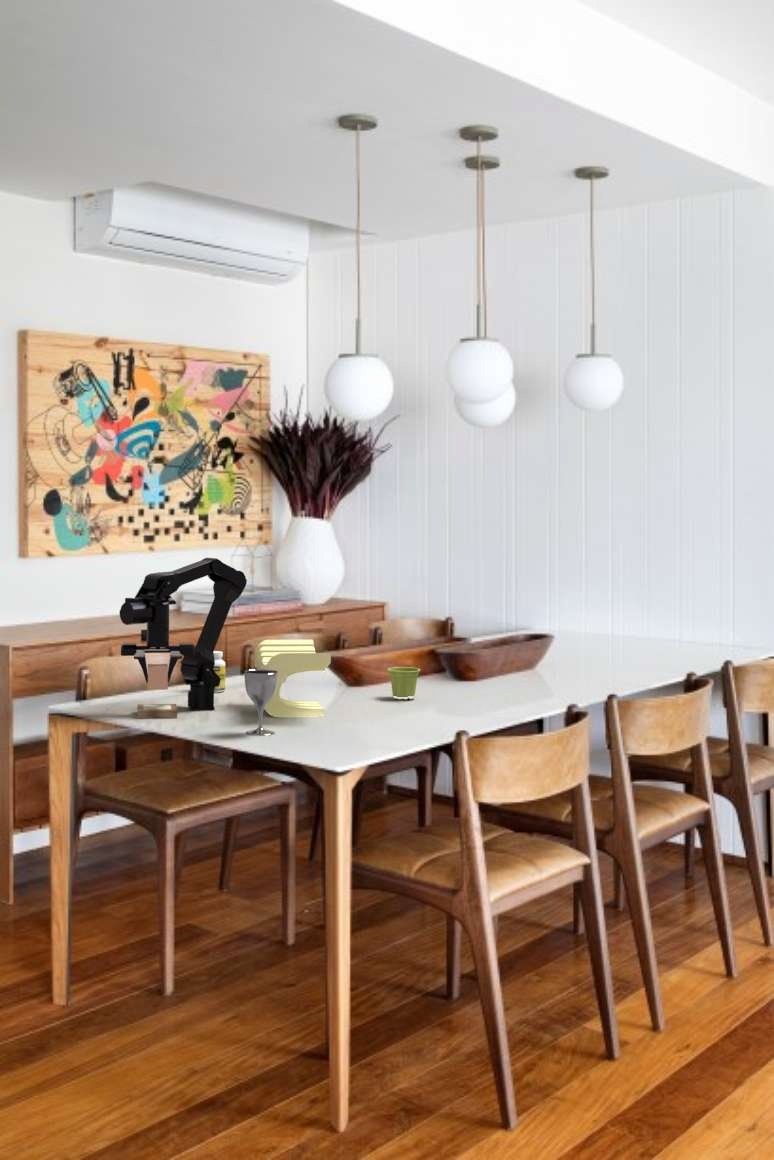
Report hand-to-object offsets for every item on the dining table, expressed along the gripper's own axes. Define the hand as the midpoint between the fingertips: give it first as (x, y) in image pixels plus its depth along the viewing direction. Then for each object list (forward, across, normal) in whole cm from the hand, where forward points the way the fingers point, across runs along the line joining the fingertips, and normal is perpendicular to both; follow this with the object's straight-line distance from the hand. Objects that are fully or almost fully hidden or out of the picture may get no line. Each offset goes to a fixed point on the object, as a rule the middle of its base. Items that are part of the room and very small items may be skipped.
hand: (157, 682), depth 335 cm
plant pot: (+9, -70, -22) cm, 74 cm away
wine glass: (+9, -24, +27) cm, 37 cm away
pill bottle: (+9, -17, -39) cm, 44 cm away
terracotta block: (+2, 0, 0) cm, 2 cm away
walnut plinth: (+8, 0, 0) cm, 9 cm away
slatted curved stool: (+9, -35, -1) cm, 36 cm away
